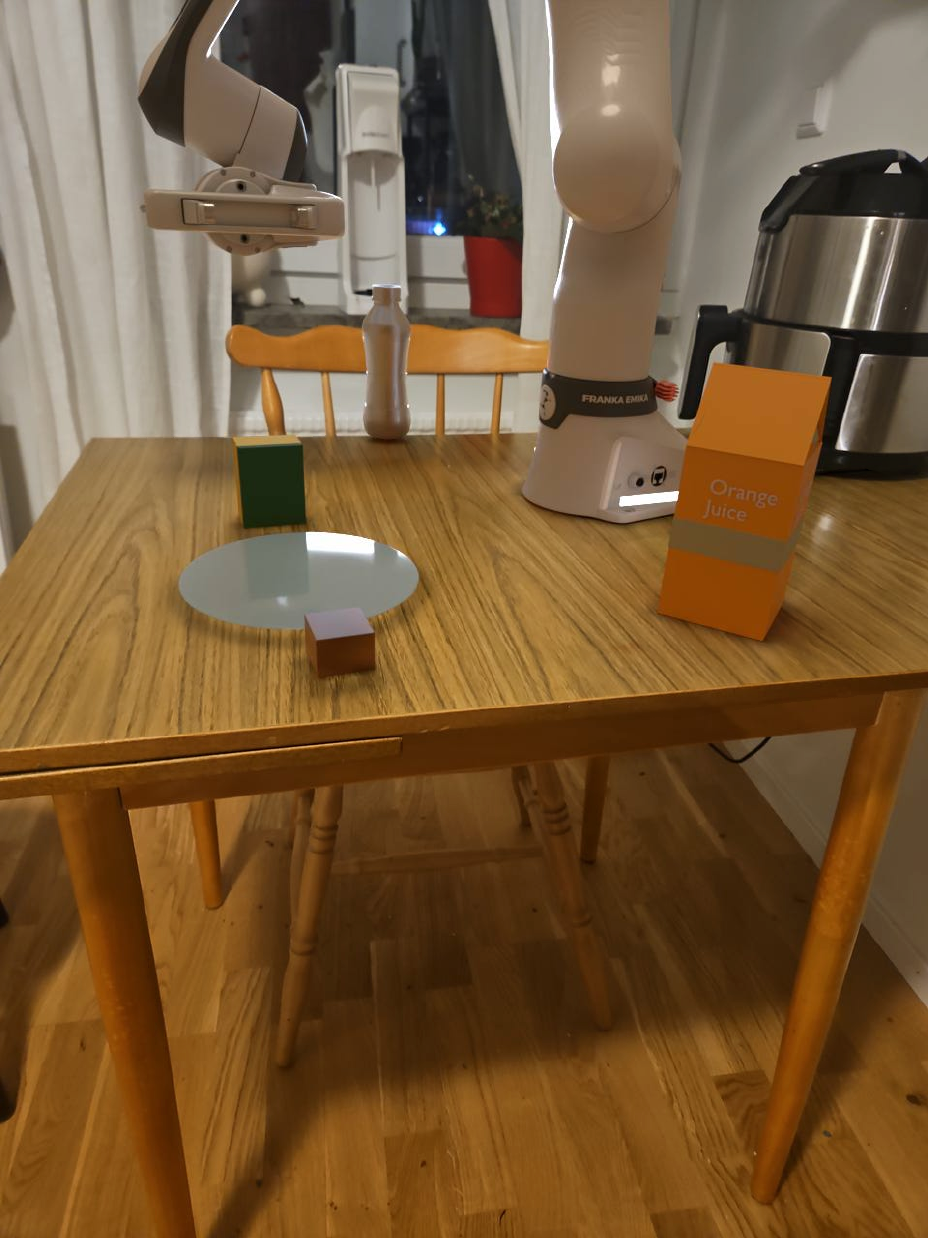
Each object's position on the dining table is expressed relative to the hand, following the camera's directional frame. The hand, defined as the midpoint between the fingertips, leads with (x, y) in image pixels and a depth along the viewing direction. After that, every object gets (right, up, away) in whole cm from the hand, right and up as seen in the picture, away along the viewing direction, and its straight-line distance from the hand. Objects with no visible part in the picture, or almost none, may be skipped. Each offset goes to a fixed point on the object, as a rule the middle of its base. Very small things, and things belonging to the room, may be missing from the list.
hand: (257, 215), depth 79 cm
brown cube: (+11, -43, -22) cm, 50 cm away
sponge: (+1, -30, +2) cm, 30 cm away
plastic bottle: (+9, -14, +36) cm, 39 cm away
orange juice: (+42, -39, -10) cm, 58 cm away
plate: (+6, -37, -9) cm, 38 cm away
